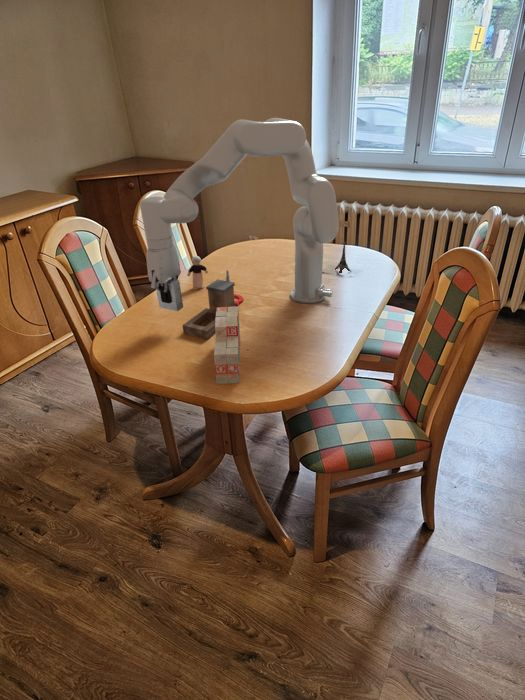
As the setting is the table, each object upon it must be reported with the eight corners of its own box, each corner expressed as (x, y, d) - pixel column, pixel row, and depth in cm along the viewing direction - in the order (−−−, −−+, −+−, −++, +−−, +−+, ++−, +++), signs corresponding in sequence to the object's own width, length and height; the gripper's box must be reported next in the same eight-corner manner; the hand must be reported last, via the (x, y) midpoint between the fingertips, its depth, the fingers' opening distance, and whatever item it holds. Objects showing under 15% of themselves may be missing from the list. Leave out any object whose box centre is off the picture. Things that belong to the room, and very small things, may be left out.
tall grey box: (165, 303, 145) (160, 277, 141) (183, 307, 143) (179, 280, 138) (159, 307, 143) (154, 280, 138) (177, 311, 140) (173, 284, 136)
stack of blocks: (239, 383, 120) (237, 343, 113) (215, 384, 120) (211, 344, 113) (240, 342, 138) (238, 305, 131) (219, 343, 138) (216, 306, 131)
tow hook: (222, 296, 167) (216, 306, 159) (220, 262, 161) (214, 270, 153) (245, 297, 166) (240, 307, 158) (244, 263, 160) (239, 271, 152)
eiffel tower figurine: (319, 274, 183) (320, 241, 176) (328, 265, 190) (329, 234, 184) (356, 280, 177) (359, 246, 170) (363, 271, 185) (366, 238, 178)
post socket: (239, 313, 154) (237, 283, 148) (207, 339, 139) (204, 307, 134) (216, 308, 157) (214, 278, 152) (183, 333, 143) (179, 301, 137)
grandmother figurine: (191, 291, 170) (187, 259, 163) (188, 288, 173) (184, 256, 166) (210, 287, 173) (207, 255, 166) (207, 284, 176) (204, 252, 169)
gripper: (167, 232, 139) (176, 287, 149) (131, 249, 127) (143, 309, 137) (187, 234, 136) (195, 291, 146) (152, 253, 124) (163, 313, 134)
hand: (170, 299), depth 141 cm, fingers closed on tall grey box, 3 cm apart
